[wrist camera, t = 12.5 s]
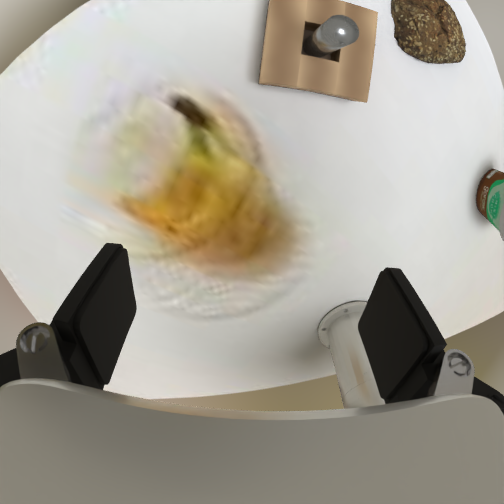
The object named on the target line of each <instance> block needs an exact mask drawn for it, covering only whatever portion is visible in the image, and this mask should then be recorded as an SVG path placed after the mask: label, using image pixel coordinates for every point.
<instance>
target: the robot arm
mask: <svg viewBox="0 0 504 504" xmlns="http://www.w3.org/2000/svg"><path fill="white" fill-rule="evenodd" d="M135 314H136V300H135V295H134V290H133V284H132V278H131V272H130V266H129V259H128V252H127V249H125V248H123V246H122V245H121V244H114V243H106V244H105V245H104V246H103V248H102V249H101V250H100V252H99V253H98V254H97V255H96V257H95V258H94V259H93V261H92V262H91V263H90V265H89V266H88V267H87V269H86V270H85V272H84V273H83V274H82V276H81V277H80V279H79V280H78V281H77V283H76V284H75V286H74V287H73V289H72V290H71V291H70V293H69V294H68V296H67V297H66V299H65V300H64V302H63V303H62V305H61V306H60V308H59V309H58V311H57V313H56V314H55V316H54V317H53V320H52V322H51V324H50V325H48V324H46V323H41V322H37V323H33V324H30V325H28V326H26V327H25V328H24V329H23V330H22V331H21V332H20V334H19V335H18V337H17V340H16V348H15V349H13V350H10V351H8V352H6V353H4V354H1V355H0V504H504V396H503V395H502V394H501V393H500V392H498V391H497V390H495V389H494V388H492V387H490V386H489V385H487V384H485V383H484V382H482V381H481V380H479V379H477V378H476V377H474V365H473V362H472V361H471V359H470V358H469V357H468V356H467V355H466V354H465V353H464V352H462V351H460V350H457V349H451V350H448V351H447V352H446V353H445V352H444V350H443V349H444V348H445V346H446V345H447V344H446V342H445V340H444V338H443V336H442V334H441V333H440V331H439V329H438V327H437V326H436V324H435V322H434V321H433V319H432V317H431V316H430V314H429V312H428V311H427V309H426V307H425V306H424V304H423V303H422V301H421V299H420V298H419V296H418V295H417V293H416V292H415V290H414V288H413V287H412V285H411V284H410V282H409V281H408V279H407V278H406V276H405V275H404V273H403V272H402V270H401V269H398V268H385V269H384V271H381V272H380V274H379V276H378V279H377V281H376V283H375V286H374V288H373V291H372V293H371V295H370V298H369V300H368V302H359V301H358V302H351V303H347V304H344V305H341V306H339V307H337V308H335V309H334V310H332V311H331V312H330V313H328V314H327V315H326V316H325V317H324V318H323V320H322V321H321V323H320V325H319V328H318V335H319V339H320V341H321V343H322V344H323V345H324V346H326V347H327V348H330V350H331V354H332V358H333V362H334V366H335V370H336V375H337V379H338V383H339V388H340V392H341V396H342V401H343V405H344V409H335V410H319V411H286V412H285V411H279V412H278V411H244V410H227V409H215V408H205V407H195V406H186V405H179V404H172V403H166V402H160V401H153V400H148V399H143V398H138V397H132V396H127V395H122V394H118V393H113V392H109V391H104V390H103V388H104V385H105V384H106V385H107V384H108V383H109V382H110V379H111V376H112V374H113V371H114V368H115V365H116V363H117V360H118V357H119V355H120V352H121V349H122V347H123V344H124V341H125V339H126V336H127V334H128V331H129V329H130V326H131V324H132V321H133V319H134V317H135Z"/></svg>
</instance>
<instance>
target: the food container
mask: <svg viewBox="0 0 504 504" xmlns="http://www.w3.org/2000/svg"><path fill="white" fill-rule="evenodd" d="M476 203H477V207H478V210H479V211H480V213H481V214H482V215H484V216H485V217H486V218H487V219H488V220H489V221H490V222H491V223H492V224H493V225H494V226H495V227H496V228H497V229H498V230H499V232H500V235H501V238H502V239H503V241H504V173H503V172H501V171H498V170H495V169H491V170H489V171H488V172H487V173H486V174H485V175H484V176H483V178H482V180H481V181H480V184H479V186H478V189H477V194H476Z"/></svg>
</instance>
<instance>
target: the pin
mask: <svg viewBox="0 0 504 504" xmlns="http://www.w3.org/2000/svg"><path fill="white" fill-rule="evenodd" d="M358 37H359V28H358V26H357V24H356V23H355V22H354V21H353V20H352V19H351V18H349V17H347V16H345V15H333V16H331V17H330V18H329V19H328V20H326V21H325V22H324V23H323V24H322V25H321V26H320V27H319V28H317V29H316V30H315V31H314V32H313V33H312V34H311V35H310V36H309V37H308V38H307V39H306V40H305V41H304V43H303V49H304V52H305V53H306V54H307V55H308V56H313V57H318V58H321V57H323V56H325V55H327V54H330V53H332V52H334V51H336V50H338V49H341V48H343V47H345V46H347V45H350V44H352V43H354V42H355V41H356V40H357V39H358Z"/></svg>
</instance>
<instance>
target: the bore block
mask: <svg viewBox="0 0 504 504" xmlns="http://www.w3.org/2000/svg"><path fill="white" fill-rule="evenodd" d="M333 15H345V16H347V17H349V18H351V19H352V20H353V21H354V22H355V23H356V24H357V26H358V28H359V37H358V39H357V40H356V41H355V42H354V43H352V44H350V45H347V46H345V47H343V48H341V49H338V50H336V51H334V52H332V53H330V54H327V55H325V56H323V57H321V58H318V57H313V56H308V55H307V54H306V53H305V52H304V49H303V43H304V41H305V40H306V39H307V38H308V37H309V36H310V35H311V34H312V33H313V32H314V31H315V30H316V29H317V28H319V27H320V26H321V25H322V24H323V23H324V22H325V21H326V20H328V19H329V18H330V17H331V16H333ZM377 16H378V12H375V11H373V10H370V9H367V8H364V7H361V6H357V5H354V4H351V3H347V2H344V1H340V0H269V5H268V12H267V20H266V28H265V36H264V43H263V51H262V59H261V68H260V76H259V84H263V85H271V86H279V87H286V88H292V89H298V90H304V91H310V92H315V93H320V94H325V95H330V96H334V97H339V98H343V99H347V100H351V101H359V102H366V103H367V99H368V93H369V87H370V80H371V72H372V65H373V57H374V48H375V39H376V28H377Z"/></svg>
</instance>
